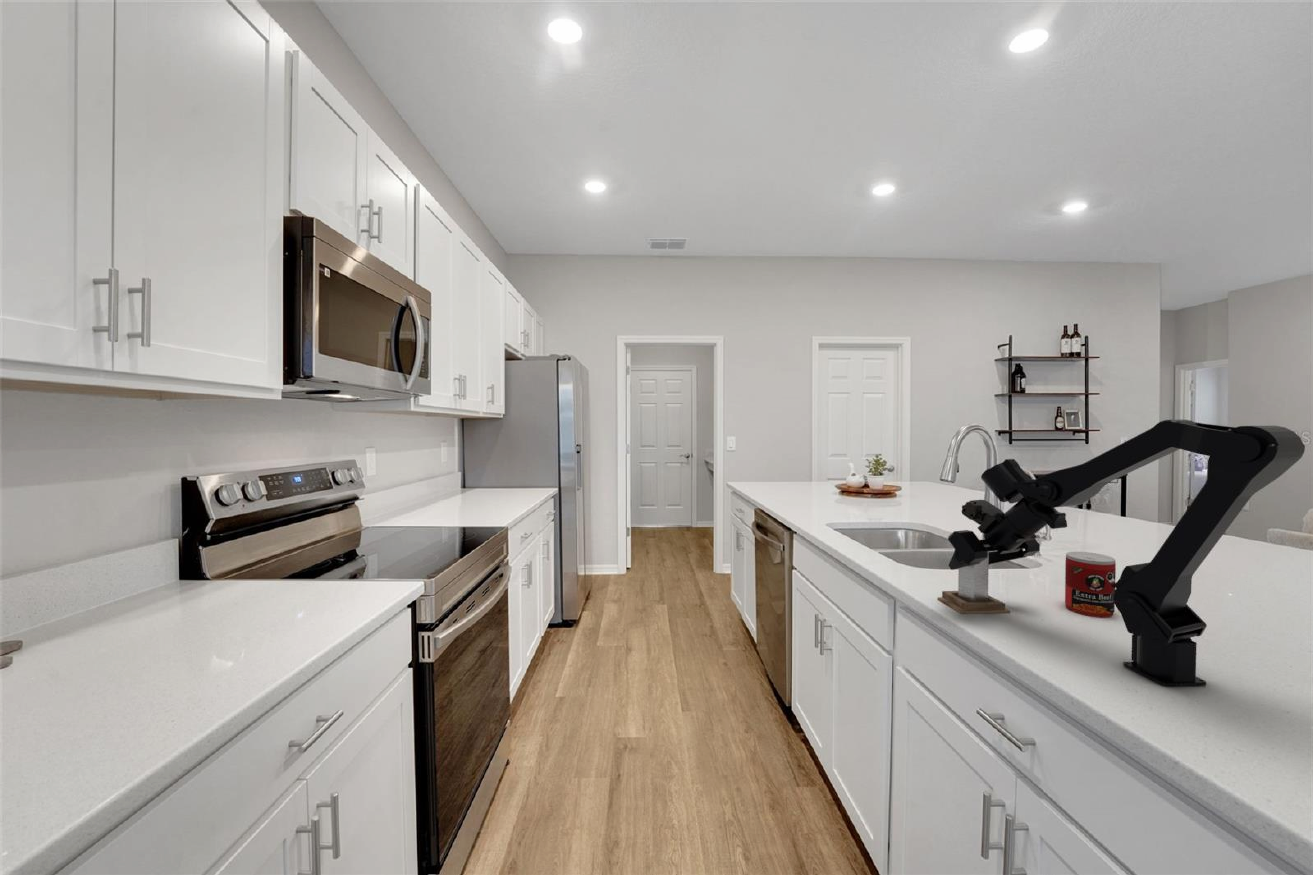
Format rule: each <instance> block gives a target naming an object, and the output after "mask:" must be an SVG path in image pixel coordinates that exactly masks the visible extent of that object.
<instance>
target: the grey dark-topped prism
mask: <svg viewBox="0 0 1313 875" xmlns="http://www.w3.org/2000/svg"><path fill="white" fill-rule="evenodd" d="M988 564H989V552H988V558H986V559H985V560H984V561H981V562H980V564H976V565H971V566H967V567H963V568H958V569H957V570H958V571H957V572H958V573H957V574H958V578H957V579H958V583H957V584H958V585H957V586H958V587H957V588H958V589H957V591H958V598H960V599H962V600H964V601H966V602H988V595H989V565H990V564H989V565H988Z"/></svg>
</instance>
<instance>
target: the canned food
mask: <svg viewBox="0 0 1313 875" xmlns="http://www.w3.org/2000/svg"><path fill="white" fill-rule="evenodd" d="M1116 563H1117V562H1116V559H1115V558H1114V557H1112V556H1109V555H1106V554H1101V553H1096V552H1088V551H1069V552H1066V554H1065V568H1064V569H1065V573H1064V574H1065V577H1064V580H1065V581H1064V582H1065V584H1064V590H1065V591H1064V604H1065V606H1066V608H1067V609H1068V610H1069V609H1070V610H1069V611H1071V612H1073V611H1074V613H1076V614H1079V613H1080V614H1079V615H1083V614H1085V615H1084V616H1087V615H1089V616H1088V617H1093V616H1094V617H1095V618H1109V617H1110V618H1111V617H1112V616H1113V615H1114V614H1115V608H1116V605H1115V603H1114V601H1113V600H1112V595H1113V593H1114V590H1115V589H1116V588H1113V587H1112V586H1111V585H1113V584H1114V583H1116V577H1117V576H1116V573H1117V572H1116V571H1117V570H1116V569H1117V568H1116V566H1117V565H1116Z"/></svg>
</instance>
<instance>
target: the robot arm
mask: <svg viewBox="0 0 1313 875" xmlns="http://www.w3.org/2000/svg"><path fill="white" fill-rule="evenodd" d="M1302 440H1303V439H1302V438H1301V437H1300V436H1299V434H1297V433H1296V432H1295V431H1294V430H1291V429H1289V428H1287V427H1284V426H1280V425H1240V426H1236V427H1235V426H1228V425H1219V424H1211V423H1202V422H1195V421H1193V420H1189V419H1164V420H1161V421H1159V422H1157V423H1156V424H1155V425H1154V426H1153V427H1151V428H1149V429H1146V430H1145V431H1144V432H1141V433H1140V434H1138V435H1136V436H1133V437H1132V438H1129V439H1128V440H1126V441H1124V442H1122V443H1120V444H1119V445H1117V446H1115V447H1113V448H1110V449H1109V450H1107V451H1105V452H1103V453H1101V454H1100V455H1097V456H1095V457H1093V458H1092V459H1089V460H1087V461H1086V462H1083V463H1081V464H1078V465H1075V466H1071V467H1066V468H1063V469H1059V470H1056V471H1052V472H1049V473H1046V474H1043V475H1040V476H1039V477H1038V478H1034V479H1032V478H1031V477H1030V476H1029V475H1028V474H1027V473H1026V472H1025V471H1024V470H1023V469H1022V467H1021V466H1020V464H1019V462H1017V461H1016V459H1014V458H1006V459H1005V460H1004V461H1002V462H1000V463H997V464H996V465H993V466H991V467H990V468H988V469H986V470H985V471H984V472H983V473H982V474H981V476H980V478H981V480H982V481H983V483H984V484H985V485H986V486H987V488H989V490H990V491H991V492H992V493H993V494H994V496H996V498H997V499H998V500H999V501H1000V502H1001V503H1006V502H1007V503H1008V504H1014V505H1012V506H1011V507H1010V508H1009V509H1008V510H1006V511H1005V512H1003V510H1001V509H1000V508H998V507H997V506H996V505H993V503H991V502H989V501H987V500H984V499H972V500H969V501H966V503H965V504H962V506H961V514H962V515H963V516H964V517H966V518H967V519H968V520H969V521H973V522H974V523H976V524H978V527H977V529H978V531H980V532H979V533H981V534H983V535H982V536H983V538H984V539H979V537H978V536H977V535H976V534H975V532H974V531H973V530H968V529H964V530H954V531H953V532H952V533H950V534H949V535H948V537H947V540H948V541H949V543H950V544H951V546H952V548H954V552H953V553H952V556H951V558H950V561H949V563H948V568H949V569H950V570H952V571H953V570H959V568H963V567H967V566H971V565H976V564H980V562H981V561H984V560H985V559H986V558H988V552H989V564H988V566H989V565H993V564H994V565H995V564H999V563H1004V562H1010V561H1012V560H1019V559H1024V558H1028V557H1033V556H1035V555H1036V554H1037V553H1039V552H1040V550H1041V548H1040V547H1041V545H1040V543H1039V542H1038V541H1037V539H1036V538H1037V535H1036V534H1037V533H1038V532H1039V531H1041V530H1043V528H1045V527H1046V526H1047V525H1048V527H1049V528H1050V529H1051V530H1055V529H1056V530H1057V529H1065V528H1066V529H1067V527H1068V521H1067V519H1066V518H1067V517H1066V516H1067V514H1066V512H1060V511H1058V510H1057V509H1056V508H1064V507H1073V506H1074V507H1075V506H1081V505H1083V504H1084V503H1086V502H1088V501H1090V499H1091V498H1093V497H1095V496H1096V495H1097V494H1098V493H1099V492H1100V491H1102V489H1103V488H1104V487H1105V486H1106V485H1107V484H1109V483H1110V482H1112V481H1115V480H1117V479H1119V478H1121V477H1124V476H1125V475H1128V474H1130V473H1131V472H1133V471H1135V470H1139V469H1140V468H1143V467H1145V466H1147V465H1149V464H1151V463H1153V462H1155V461H1157V460H1159V459H1162V458H1164V457H1167V456H1168V455H1171V454H1172V453H1175V452H1177V451H1179V450H1182V451H1187V452H1190V453H1194V454H1198V455H1202V456H1208V460H1207V463H1206V464H1207V465H1206V466H1207V468H1206V481H1205V483H1204V485H1202V488H1201V489H1200V490H1199V491H1198V493H1197V495H1196V496H1195V498H1194V499H1193V500H1192V502H1191V503H1190V505H1189V506H1188V508H1187V509H1186V510H1185V512H1183V515H1182V516H1181V518H1180V519H1179V521H1178V522H1177V523H1176V525H1175V526H1174V528H1173V529H1172V530H1171V532H1170V534H1168V536H1167V538H1166V539H1165V541H1164V542H1163V544H1162V545H1161V546H1160V547H1159V549H1158V550H1157V552H1156V554H1154V556H1153V558H1152V560H1151V561H1150V562H1144V563H1143V562H1142V563H1139V564H1131V565H1126V566H1125V567H1124V568H1123V570H1122V572H1121V574H1120V577H1119V579H1118V580H1117V581H1115V583H1114V584H1113V585H1111V586H1112V587H1113V588H1115V590H1114V593H1113V595H1112V600H1113V601H1114V603H1115V608H1116V609H1117V610H1118V612H1119V613H1120V614H1121V618H1122V620H1123V623H1124V625H1125V628H1126V631H1127V633H1129V634H1131V656H1130V657H1131V658H1130V659H1131V661H1122V663H1123V664H1122V666H1124V667H1126V668H1127V669H1129V670H1131V671H1134V672H1136V673H1138V674H1140V675H1141V676H1144V677H1146V678H1147V679H1149V680H1152V681H1154V682H1156V683H1157V684H1160V685H1162V686H1165V687H1170V686H1171V687H1172V686H1173V687H1175V686H1207V681H1206V680H1204V679H1202V678H1200V677H1197V674H1196V673H1197V642H1196V641H1193V640H1192V638H1194V637H1195V638H1196V637H1201V636H1202V635H1203V633H1204V632H1205V630H1206V628H1207V626H1208V625H1207V623H1206V622H1205V621H1204V620H1203V619H1202V618H1201V617H1200V616H1199V615H1198V614H1197V613H1196V612H1195V610H1193V609H1192V608H1191V607H1190V606H1189V605H1188V604H1187V603H1188V602H1189V599H1190V596H1191V594H1192V580H1193V576H1194V574H1195V573H1196V572H1197V571H1198V569H1199V567H1200V566H1201V564H1202V563H1203V562H1204V561H1205V559H1206V558H1207V557H1208V555H1209V554H1210V553H1211V552H1212V550H1213V549H1214V547H1215V546H1216V545H1217V543H1218V542H1219V541H1220V539H1221V538H1222V536H1224V534H1225V533H1226V531H1227V530H1228V529H1229V527H1230V526H1231V524H1232V523H1233V522H1234V520H1236V518H1237V517H1238V515H1239V514H1240V512H1241V511H1242V510H1243V509H1244V507H1245V506H1246V505H1247V503H1248V502H1249V500H1250V499H1251V497H1253V496H1254V495H1255V494H1256V493H1258V492H1259V491H1261V490H1262V489H1264V488H1265V487H1267V486H1268V485H1270V484H1271V483H1272V482H1274V481H1276V480H1277V479H1278V478H1280V477H1281V476H1282V475H1284V473H1286V472H1288V471H1289V469H1290V468H1292V467H1293V466H1294V465H1295V464H1296V463H1297V462H1299V460H1300V459H1302V458H1303V455H1304V454H1305V452H1306V451H1305V450H1306V445H1305V444H1304V442H1303V441H1302Z"/></svg>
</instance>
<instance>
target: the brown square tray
mask: <svg viewBox="0 0 1313 875" xmlns="http://www.w3.org/2000/svg"><path fill="white" fill-rule="evenodd" d="M937 600H938V601H939V602H941V603H943V604H944V605H946V606H947V607H949V608H950V609H952V610H954V611H956V612H957V613H959V614H1006V613H1007V614H1010V613H1011V610H1010V609H1009V608H1007V607H1006V603H1005V602H1003V601H1001V600H999V599H997V598H994V596H993V597H992V596H990V595H989V594H988V602H966V601H964V600H962V599H960V598H958V590H942V591H941V596H938V597H937Z"/></svg>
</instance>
